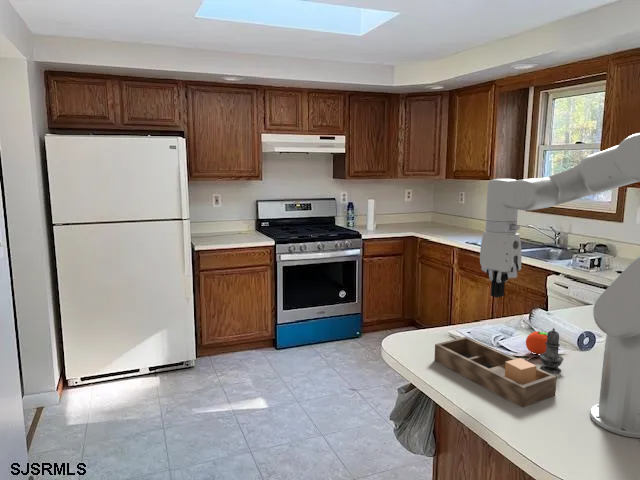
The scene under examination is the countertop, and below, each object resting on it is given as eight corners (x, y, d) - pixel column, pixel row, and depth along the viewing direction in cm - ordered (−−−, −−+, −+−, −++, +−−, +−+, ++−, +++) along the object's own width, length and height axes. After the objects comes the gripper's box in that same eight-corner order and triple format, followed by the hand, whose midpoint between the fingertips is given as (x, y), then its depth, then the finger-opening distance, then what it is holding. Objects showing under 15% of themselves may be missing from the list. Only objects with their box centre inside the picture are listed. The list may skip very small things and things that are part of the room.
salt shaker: (565, 375, 128) (568, 332, 126) (541, 373, 129) (545, 331, 127) (558, 365, 133) (562, 325, 131) (536, 364, 134) (539, 323, 132)
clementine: (551, 351, 143) (553, 328, 142) (556, 360, 137) (558, 337, 135) (523, 348, 145) (524, 326, 144) (527, 358, 138) (528, 335, 137)
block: (535, 384, 117) (536, 365, 116) (520, 389, 115) (521, 369, 114) (519, 376, 121) (520, 358, 121) (504, 380, 119) (505, 361, 119)
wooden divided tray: (555, 395, 117) (556, 376, 116) (522, 407, 111) (523, 387, 110) (465, 352, 143) (465, 336, 142) (434, 360, 137) (435, 344, 136)
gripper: (536, 229, 117) (531, 301, 120) (488, 222, 130) (485, 287, 133) (515, 232, 114) (511, 305, 117) (468, 225, 127) (465, 291, 130)
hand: (497, 295), depth 125 cm, fingers closed
